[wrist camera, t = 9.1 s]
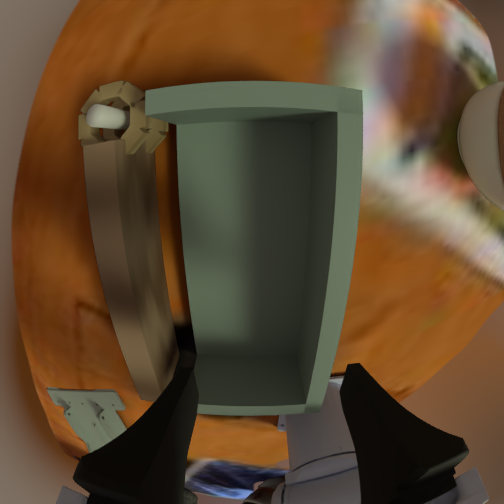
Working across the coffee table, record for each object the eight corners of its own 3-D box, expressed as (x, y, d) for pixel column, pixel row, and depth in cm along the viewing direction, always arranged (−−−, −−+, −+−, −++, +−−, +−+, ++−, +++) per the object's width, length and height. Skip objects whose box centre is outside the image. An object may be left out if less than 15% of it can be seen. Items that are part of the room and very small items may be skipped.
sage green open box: (306, 355, 23) (319, 411, 17) (163, 353, 23) (143, 406, 17) (325, 109, 16) (362, 90, 10) (132, 116, 16) (81, 106, 10)
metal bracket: (157, 472, 24) (83, 459, 26) (169, 446, 30) (99, 440, 32) (102, 388, 24) (36, 386, 25) (125, 367, 29) (58, 371, 31)
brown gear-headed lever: (192, 354, 23) (179, 404, 17) (147, 350, 23) (127, 397, 17) (172, 92, 15) (138, 69, 10) (115, 101, 15) (68, 89, 10)
